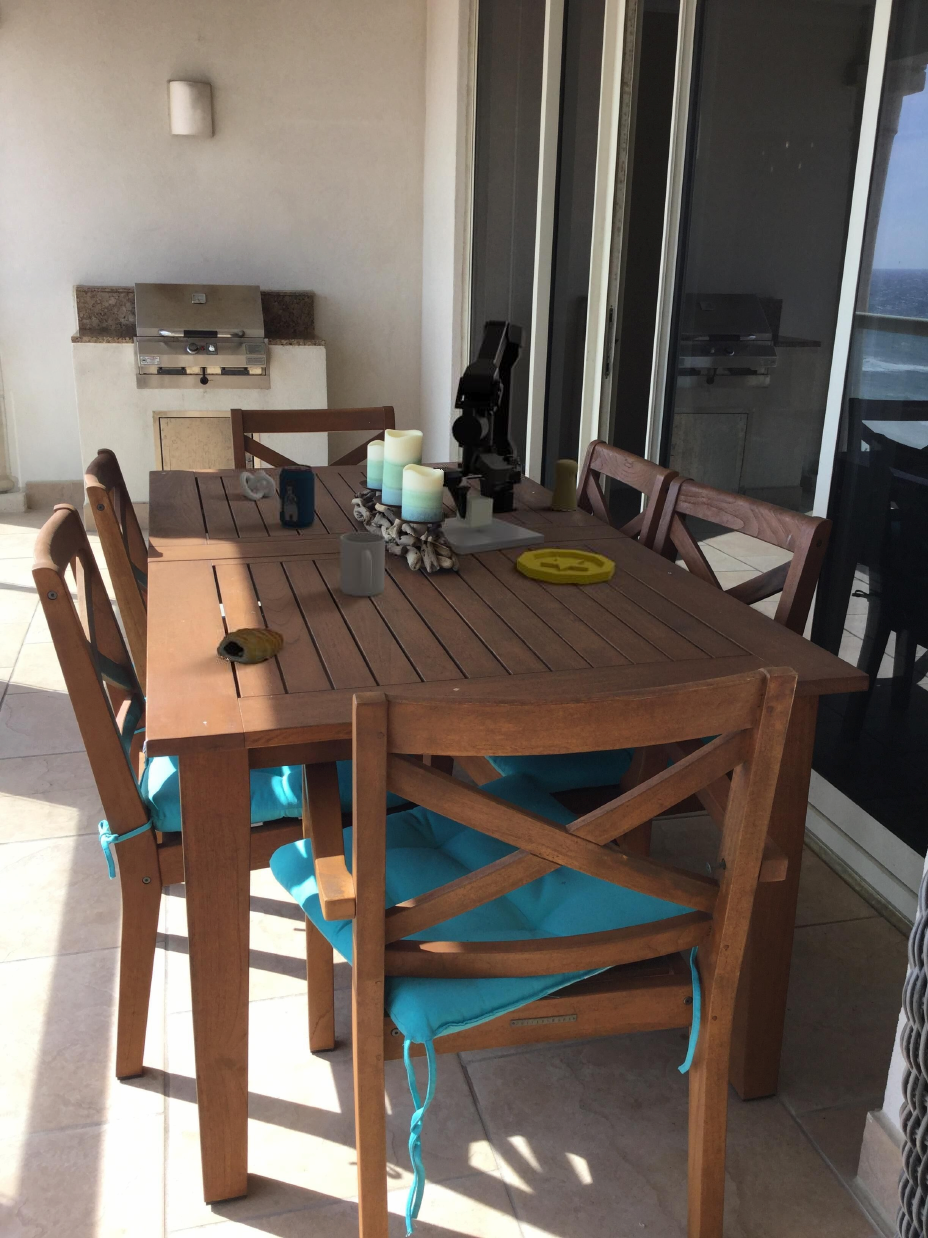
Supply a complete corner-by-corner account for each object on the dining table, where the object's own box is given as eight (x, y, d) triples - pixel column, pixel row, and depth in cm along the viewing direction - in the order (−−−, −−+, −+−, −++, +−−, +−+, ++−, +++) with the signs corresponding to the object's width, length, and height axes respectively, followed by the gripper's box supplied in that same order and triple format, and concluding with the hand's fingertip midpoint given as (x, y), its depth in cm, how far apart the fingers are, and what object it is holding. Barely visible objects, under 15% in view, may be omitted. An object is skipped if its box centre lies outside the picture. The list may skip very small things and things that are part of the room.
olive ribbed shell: (258, 639, 148) (258, 614, 147) (296, 649, 145) (296, 623, 144) (212, 659, 140) (212, 632, 139) (252, 670, 137) (251, 642, 136)
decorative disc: (547, 554, 200) (547, 544, 199) (630, 572, 190) (631, 561, 189) (499, 572, 186) (499, 561, 186) (585, 592, 177) (586, 580, 176)
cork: (576, 506, 239) (580, 458, 236) (576, 512, 233) (580, 463, 230) (550, 504, 240) (553, 456, 236) (549, 510, 234) (553, 461, 230)
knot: (234, 494, 236) (233, 468, 234) (269, 492, 239) (268, 467, 237) (242, 501, 229) (241, 475, 228) (278, 499, 233) (277, 473, 231)
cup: (381, 583, 175) (382, 531, 173) (389, 601, 166) (390, 547, 163) (337, 584, 174) (338, 532, 171) (344, 602, 165) (344, 548, 162)
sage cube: (456, 520, 208) (457, 496, 206) (476, 518, 211) (477, 493, 209) (471, 526, 204) (472, 501, 202) (491, 523, 207) (492, 498, 205)
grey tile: (403, 531, 210) (403, 523, 210) (483, 520, 221) (483, 514, 221) (460, 554, 195) (461, 546, 194) (543, 542, 206) (544, 535, 206)
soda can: (311, 521, 215) (311, 463, 211) (317, 529, 209) (317, 469, 205) (277, 522, 213) (276, 463, 209) (282, 530, 206) (281, 470, 203)
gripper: (462, 447, 191) (458, 531, 196) (541, 441, 201) (536, 521, 206) (428, 438, 199) (425, 518, 204) (506, 432, 210) (501, 509, 215)
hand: (473, 517), depth 207 cm, fingers closed on sage cube, 5 cm apart
